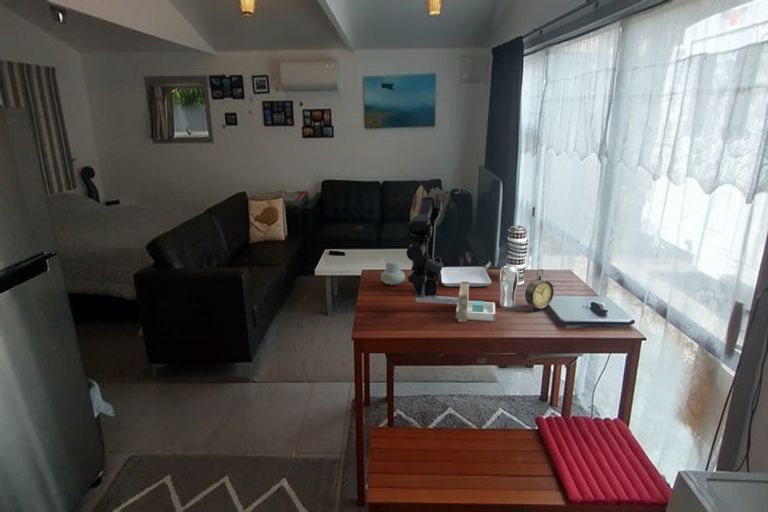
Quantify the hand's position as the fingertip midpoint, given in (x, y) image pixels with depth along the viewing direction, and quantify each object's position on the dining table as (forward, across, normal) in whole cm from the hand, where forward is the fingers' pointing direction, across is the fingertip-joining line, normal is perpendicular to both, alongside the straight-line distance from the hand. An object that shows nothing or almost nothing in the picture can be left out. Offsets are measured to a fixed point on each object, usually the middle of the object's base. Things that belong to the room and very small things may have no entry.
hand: (420, 292), depth 176 cm
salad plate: (+8, +36, -15) cm, 40 cm away
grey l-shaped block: (+3, 0, -7) cm, 8 cm away
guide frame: (+8, 0, -16) cm, 18 cm away
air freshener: (+8, +28, +16) cm, 33 cm away
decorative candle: (+8, +38, -37) cm, 54 cm away
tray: (+8, 0, -21) cm, 22 cm away
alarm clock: (+8, +9, -44) cm, 46 cm away
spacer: (+5, 0, -20) cm, 20 cm away
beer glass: (+8, +11, -33) cm, 36 cm away
